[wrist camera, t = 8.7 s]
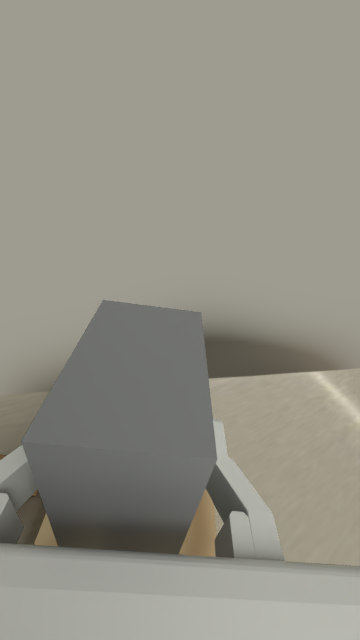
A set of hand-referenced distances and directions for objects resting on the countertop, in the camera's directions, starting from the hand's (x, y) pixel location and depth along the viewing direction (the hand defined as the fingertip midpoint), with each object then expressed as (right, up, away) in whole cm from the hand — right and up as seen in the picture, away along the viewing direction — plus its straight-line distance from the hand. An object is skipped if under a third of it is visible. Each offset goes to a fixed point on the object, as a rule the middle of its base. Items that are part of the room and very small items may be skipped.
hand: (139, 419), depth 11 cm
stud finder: (-1, -5, +2) cm, 6 cm away
